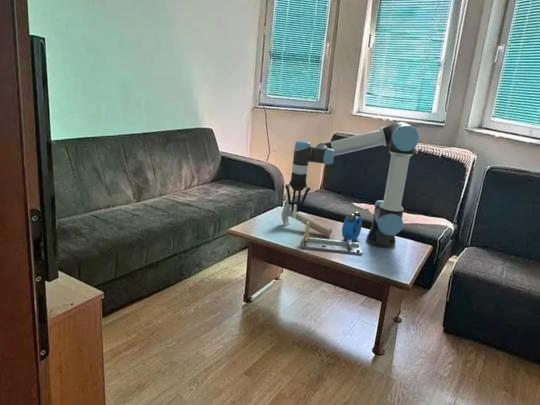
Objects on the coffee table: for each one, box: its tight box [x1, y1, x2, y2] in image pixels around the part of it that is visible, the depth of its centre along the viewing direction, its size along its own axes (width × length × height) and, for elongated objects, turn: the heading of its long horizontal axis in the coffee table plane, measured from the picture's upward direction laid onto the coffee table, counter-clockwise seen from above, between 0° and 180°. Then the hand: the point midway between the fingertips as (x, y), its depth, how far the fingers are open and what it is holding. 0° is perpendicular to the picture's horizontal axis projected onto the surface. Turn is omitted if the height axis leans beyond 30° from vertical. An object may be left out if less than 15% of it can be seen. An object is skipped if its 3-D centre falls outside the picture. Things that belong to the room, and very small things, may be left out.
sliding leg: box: [303, 222, 310, 244], centre depth 225 cm, size 2×8×10 cm, turn 175°
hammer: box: [281, 197, 333, 238], centre depth 246 cm, size 16×5×30 cm
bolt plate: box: [301, 237, 363, 256], centre depth 225 cm, size 30×11×2 cm, turn 85°
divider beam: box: [309, 236, 360, 249], centre depth 225 cm, size 28×8×3 cm, turn 85°
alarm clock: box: [341, 211, 363, 242], centre depth 237 cm, size 13×6×15 cm, turn 146°
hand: (294, 217), depth 226 cm, fingers closed
